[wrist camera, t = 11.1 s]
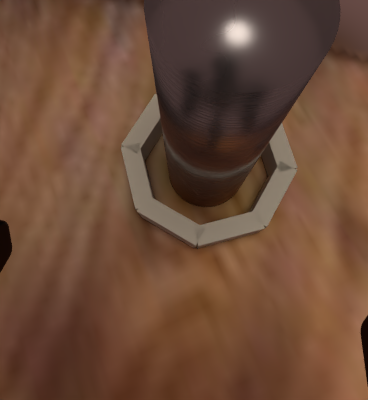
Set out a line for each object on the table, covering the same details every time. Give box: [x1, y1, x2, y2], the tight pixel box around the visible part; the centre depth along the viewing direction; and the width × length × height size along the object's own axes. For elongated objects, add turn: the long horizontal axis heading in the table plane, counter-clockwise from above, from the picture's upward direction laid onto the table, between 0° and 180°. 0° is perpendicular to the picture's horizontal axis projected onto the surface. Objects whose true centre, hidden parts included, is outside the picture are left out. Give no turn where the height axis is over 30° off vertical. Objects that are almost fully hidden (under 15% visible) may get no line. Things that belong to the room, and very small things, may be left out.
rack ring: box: [121, 94, 297, 249], centre depth 19 cm, size 9×9×2 cm
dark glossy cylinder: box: [144, 0, 340, 207], centre depth 14 cm, size 4×4×12 cm
